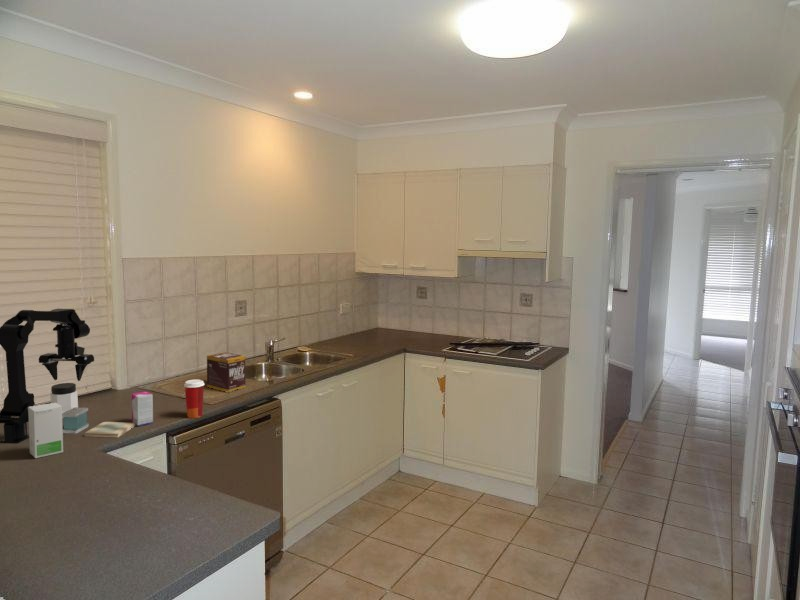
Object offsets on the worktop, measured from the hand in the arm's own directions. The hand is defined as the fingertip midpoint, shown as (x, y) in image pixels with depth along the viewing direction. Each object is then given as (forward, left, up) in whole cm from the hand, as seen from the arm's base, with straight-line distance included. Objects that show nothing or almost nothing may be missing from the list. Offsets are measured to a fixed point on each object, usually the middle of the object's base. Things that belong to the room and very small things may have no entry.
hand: (67, 380), depth 211 cm
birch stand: (-15, -26, -14) cm, 33 cm away
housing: (-15, -13, -14) cm, 24 cm away
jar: (0, +1, -14) cm, 14 cm away
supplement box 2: (+45, -47, -14) cm, 66 cm away
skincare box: (-36, -17, -14) cm, 42 cm away
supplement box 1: (-6, -33, -14) cm, 36 cm away
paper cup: (+4, -49, -14) cm, 51 cm away
